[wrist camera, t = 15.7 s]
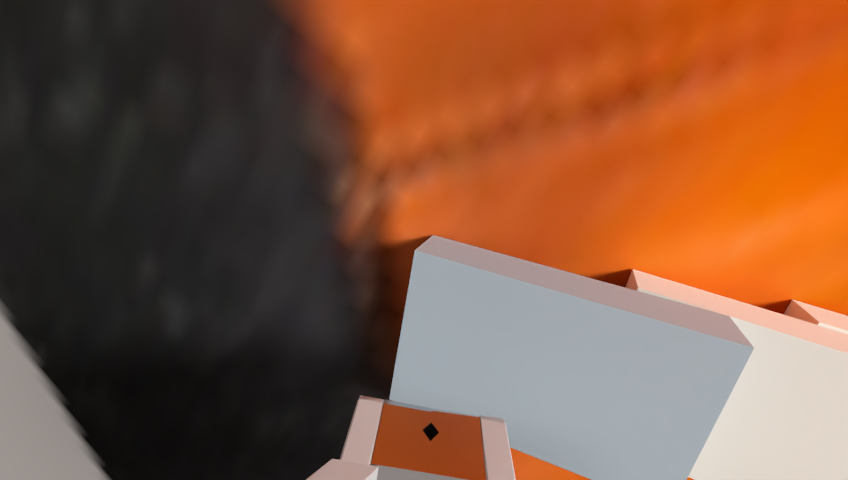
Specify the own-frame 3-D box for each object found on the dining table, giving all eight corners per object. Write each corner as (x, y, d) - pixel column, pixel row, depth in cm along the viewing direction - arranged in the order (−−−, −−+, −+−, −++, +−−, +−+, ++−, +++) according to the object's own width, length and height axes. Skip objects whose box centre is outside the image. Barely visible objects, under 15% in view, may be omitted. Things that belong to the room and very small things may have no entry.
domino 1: (389, 399, 13) (670, 510, 11) (414, 250, 11) (754, 347, 9) (408, 370, 14) (659, 463, 12) (433, 234, 13) (729, 315, 10)
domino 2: (578, 430, 13) (898, 565, 11) (638, 287, 11) (1034, 411, 9) (579, 399, 14) (861, 512, 12) (632, 269, 13) (972, 371, 10)
